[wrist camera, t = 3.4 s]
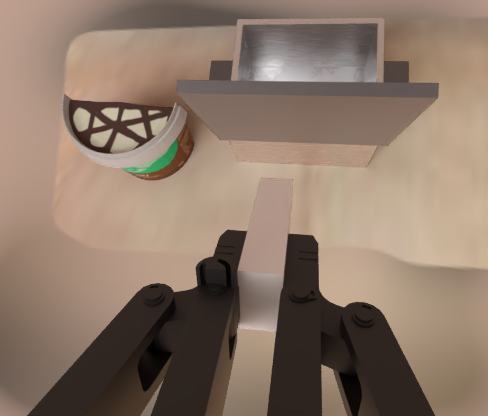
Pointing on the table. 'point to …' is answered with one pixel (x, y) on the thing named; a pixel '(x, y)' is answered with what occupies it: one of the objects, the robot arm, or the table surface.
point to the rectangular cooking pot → (308, 74)
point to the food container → (130, 136)
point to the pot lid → (307, 109)
